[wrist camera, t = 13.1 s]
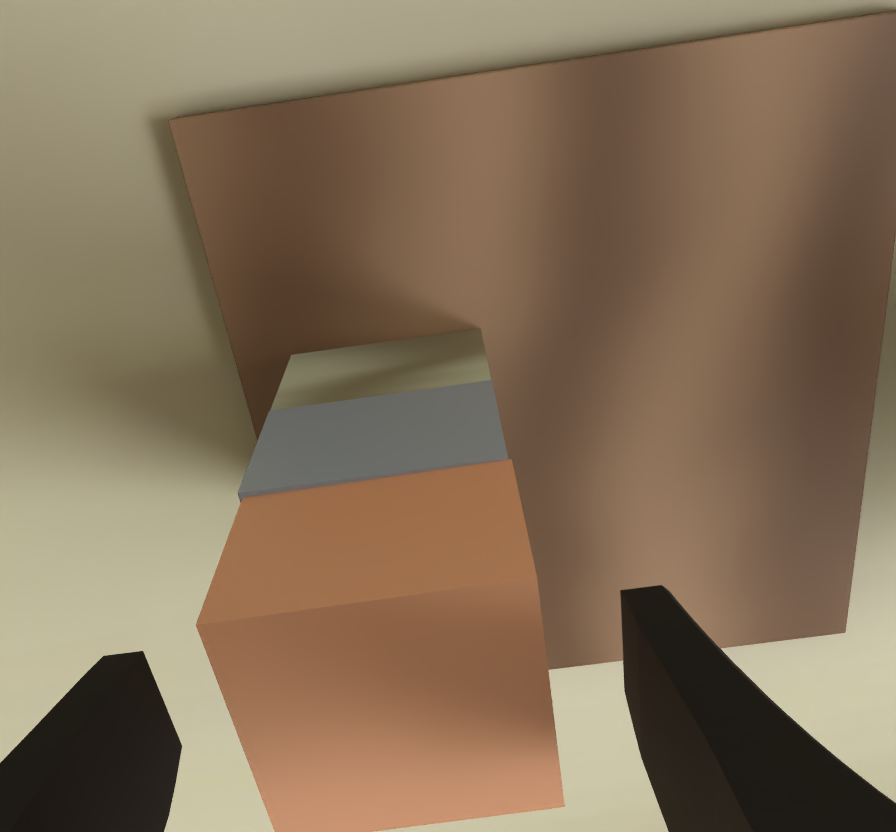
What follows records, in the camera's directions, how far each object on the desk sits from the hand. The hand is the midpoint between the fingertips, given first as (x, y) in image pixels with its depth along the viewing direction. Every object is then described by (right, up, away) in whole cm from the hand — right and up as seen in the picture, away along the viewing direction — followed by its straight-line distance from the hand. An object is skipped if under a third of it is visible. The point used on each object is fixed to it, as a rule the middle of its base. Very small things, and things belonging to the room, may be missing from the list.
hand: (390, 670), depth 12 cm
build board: (+4, +4, +8) cm, 9 cm away
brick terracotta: (0, +1, +2) cm, 2 cm away
